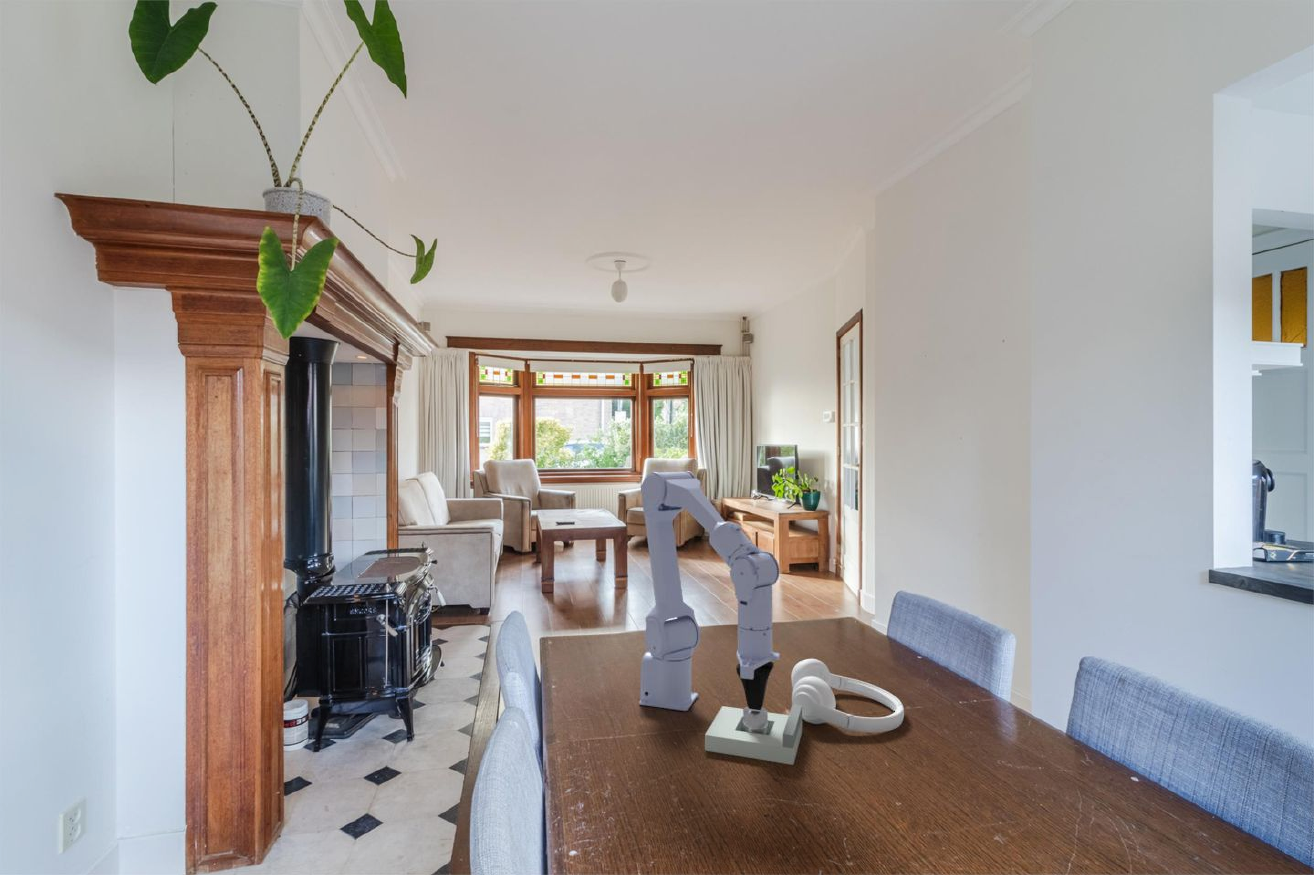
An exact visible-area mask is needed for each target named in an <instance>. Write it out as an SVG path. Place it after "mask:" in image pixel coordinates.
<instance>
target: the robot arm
mask: <svg viewBox="0 0 1314 875" xmlns="http://www.w3.org/2000/svg"><path fill="white" fill-rule="evenodd" d="M645 476H646V477H645V478H644V480H643V481H642V483H641V485H640V494H641V501H642V510H643V515H644V522H645V529H646V530H645V531H646V538H647V545H648V554H649V561H650V569H651V579H652V586H653V595H654V601H655V605H654V607H653V608H651V610H650V611H649V612H648V614H647V615H646V616H645V631H644V632H645V633H644V644H645V647H646V649H647V651H646V652H645V653H644V655H643V657H642V658H641V664H640V700H639V702H638V705H641V706H647V707H655V708H663V709H668V710H675V711H683V712H686V711H688V710H689V708H691V706H692V704H693V703H694V702H695V700H696V699H697V698H698V697H699V694H698V692H692V655H693V654H695V648H697V647H698V645H699V644H700V641H701V629H700V627H699V624H698V622H697V619H696V616H695V610H694V609H693V608H692V607H691V606H689V605H688V604H687V603H686V602H684V598H683V589H682V583H681V582H682V581H681V576H680V567H679V566H680V565H679V561H678V552H677V546H676V545H677V544H676V537H675V536H676V535H675V531H674V525H673V524H674V523H673V521H674V519H675V518H676V517H677V516H678V514H679V513H681V512H682V511H683V510H684V509H685V510H686V511H687V513H689V515H691V516H692V517H693V518H694V520H696V521H697V523H699V524H700V525H701V526H702V528H704V530H706V531H707V533H708V534H709V540H708V541H709V544H710V546H711V547H712V548H713V549H714V551H715V552H716V553H717V554H718V555H719V557H720V558H721V560H723V562H724V563H725V564H726V565H727V566H728V568H730V570H729V577H730V579H731V583H732V584H733V587H734V596H735V597H736V598H735V599H737V650H736V658H737V660H738V663H737V665H736V668H735V670H736V673H737V675H738V676H737V677H738V678H739V679H740V682H741V684H742V687H743V690H744V695H745V701H746V704H747V707H748V708H749V709H754V710H761V708H762V707H763V705H764V701H765V695H766V690H767V685H768V680H769V677H770V674H771V673H772V670H773V668H774V664H775V663H774V662H772V661H775V662H776V661H777V662H778V661H779V660H780V657H781V656H780V655H781V654H780V653H779V652H774V651H773V586H774V585H775V584H776V583H777V582H778V580H779V577H780V570H781V569H780V565H779V563H778V561H777V559H776V558H775V556H774V554H773V553H772V552H770V551H767V550H762V549H761V548H759V547H758V546H757V545H756V544H755V543H754V542H752V541H751V540H750V538H748V536H747V535H746V534H745V532H744V531H742V527H741V525H740V524H739V523H736V522H734V521H725V519H723V517H722V516H721V514H720V513H719V512H718V510H717V509H716V508H715V506H714V505H713V504H712V502H711V501H710V500H709V498H708V497H707V496H706V494H705V493H704V491H703V490H702V482H701V481H700V480H699V479H698V478H697V477H696V475H695V474H694V473H693V472H692V471H689V470H684V471H668V472H667V471H665V472H658V471H652V472H649V473H648V474H647V475H645Z"/></svg>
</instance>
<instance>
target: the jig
mask: <svg viewBox="0 0 1314 875" xmlns="http://www.w3.org/2000/svg"><path fill="white" fill-rule="evenodd" d="M743 709H744V708H739V707H733V706H731V707H730V706H726V705H725V706H724V705H722V706H721V707H720V710H719V711H718V713H717V714H716V716H715V717H714V719H713V721H712V723H711V724H710V726H709V727H708V729H707V731H706V732H705V734H704V751H706V752H707V751H708V752H711V753H712V752H713V753H719V754H725V755H730V756H738V757H742V758H750V759H755V760H760V761H768V762H773V763H780V764H785V765H791V766H793V765H794V764H795V761H796V756H797V753H798V749H799V745H800V741H801V737H802V734H803V719H802V705H795V704H793V705H791V708H790V711H789V713H788V714H781V713H776V712H769V711H768V735H763V734H756V733H750V732H743Z"/></svg>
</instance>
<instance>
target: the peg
mask: <svg viewBox="0 0 1314 875" xmlns="http://www.w3.org/2000/svg"><path fill="white" fill-rule="evenodd" d="M742 709H743V732H750V733H756V734H763V735H768V712H769V711H768V710H767V708H765V707H763V706H762V708H761V710H754V709H749V708H748V706H745V707H744V708H742Z"/></svg>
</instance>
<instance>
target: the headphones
mask: <svg viewBox="0 0 1314 875" xmlns="http://www.w3.org/2000/svg"><path fill="white" fill-rule="evenodd" d="M790 675H791V676H790V677H791V679H790V680H791V685H792V693H791V704H792V705H793V704H795V705H802V720H804V721H805V722H807V723H810V724H813V725H820V724H821V725H822V724H825V723H829V724H832V725H834V726H837V727H839V728H842V729H844V731H848V732H849V731H850V732H851V731H853V732H860V733H870V734H873V733H874V734H875V733H884V732H891V731H893V730H896V729H897V728H899V727H900V726H901V725H902V723H903V721H904V717H905V709H904V708H905V707H904V704H903V703H902V702H901V700H900V699H899V698H898V697H897V696H895V695H894V694H892V693H891V692H889V691H887V690H885V689H883V688H881V687H878V686H877V685H874V684H871V683H868V682H866V681H862V680H859V679H856V678H850V677H845V676H843V675H838V674H833V673H831V672H830V670H829V668H828V667H827V665H826V664H825V663H824V662H822V660H819V659H816V658H807V659H804V660H800V661H799V662H797V663H796V664H795V665H794V667H793V669H792V670H791V674H790ZM832 688H833V689H836V690H837V691H845V692H850V693H854V694H857V695H860V696H861V695H862V696H865V697H867V698H870V699H872V700H874V701H877V702H879V703H881V704H882V705H884V706H886V707H888V708H889V709H891V710H892V711H893V713H892V714H889V715H887V716H881V717H867V716H866V717H865V716H857V715H854V714H850V713H846V712H843V711H841V710H838V709H836V698H835V695H834V692H833V690H832ZM792 705H791V706H792ZM894 711H895V712H894Z"/></svg>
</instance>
